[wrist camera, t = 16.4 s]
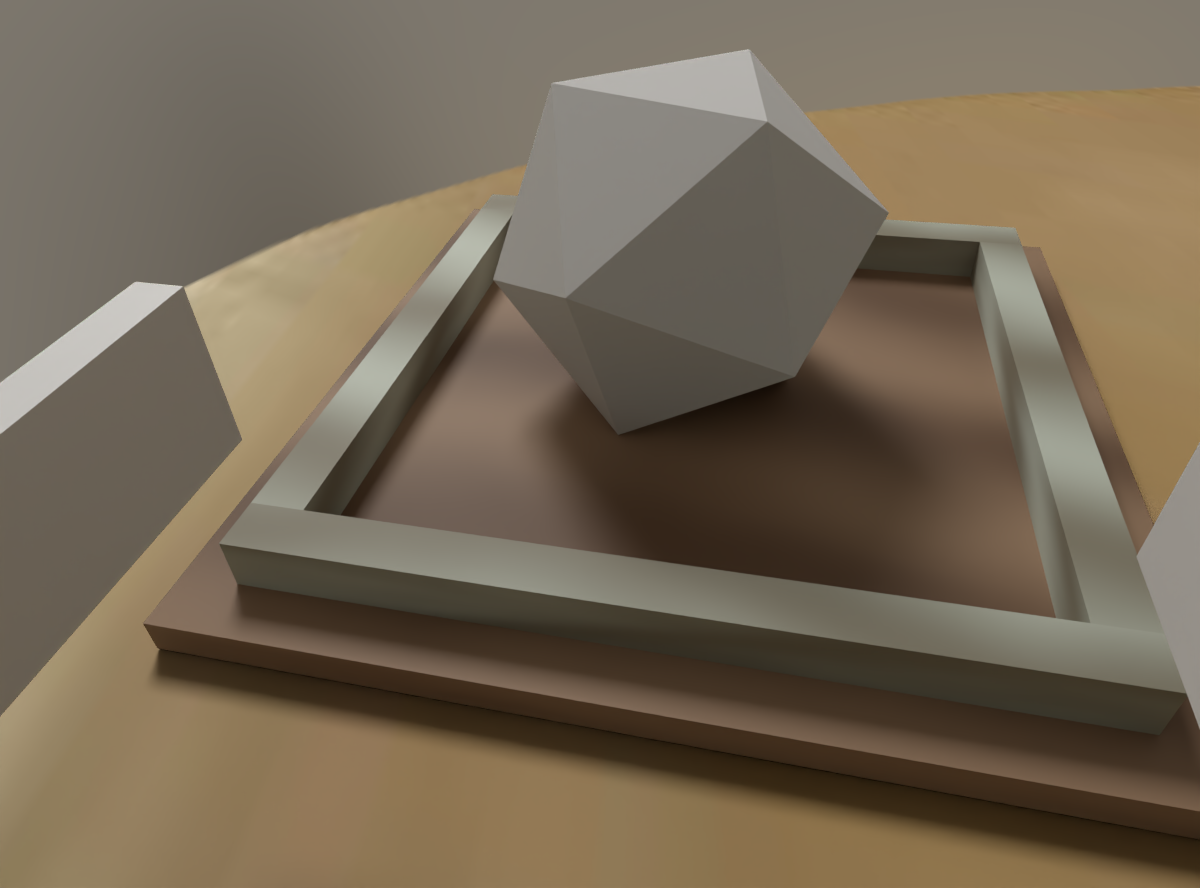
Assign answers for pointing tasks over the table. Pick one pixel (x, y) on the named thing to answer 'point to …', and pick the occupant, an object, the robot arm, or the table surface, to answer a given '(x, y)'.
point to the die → (681, 235)
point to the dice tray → (736, 541)
